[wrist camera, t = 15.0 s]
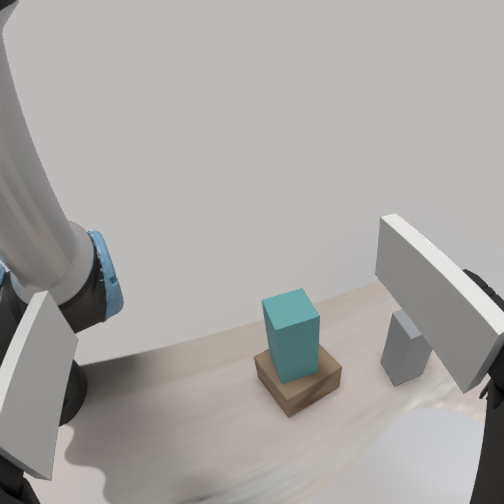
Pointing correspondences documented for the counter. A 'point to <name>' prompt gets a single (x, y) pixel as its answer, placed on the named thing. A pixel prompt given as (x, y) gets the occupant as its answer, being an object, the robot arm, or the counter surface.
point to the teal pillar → (292, 334)
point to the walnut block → (299, 382)
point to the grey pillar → (404, 349)
